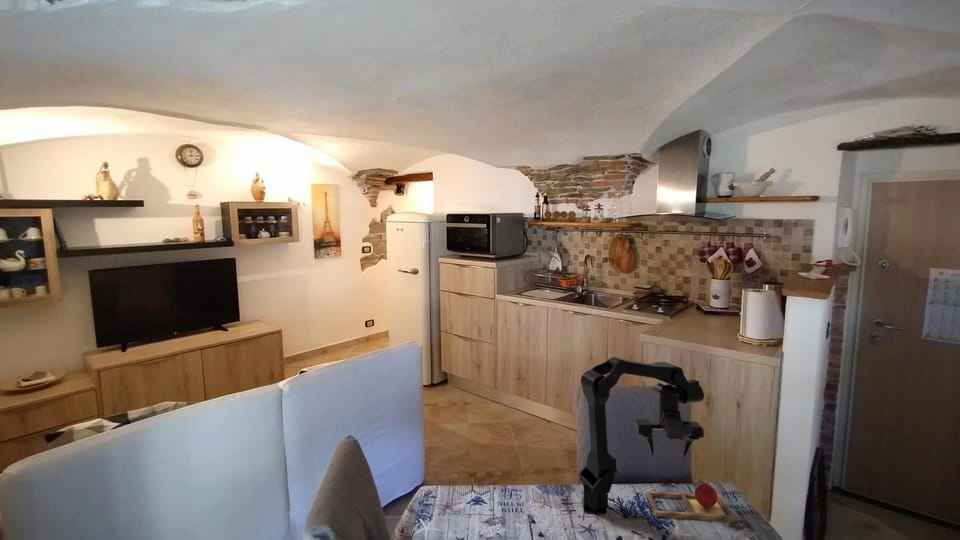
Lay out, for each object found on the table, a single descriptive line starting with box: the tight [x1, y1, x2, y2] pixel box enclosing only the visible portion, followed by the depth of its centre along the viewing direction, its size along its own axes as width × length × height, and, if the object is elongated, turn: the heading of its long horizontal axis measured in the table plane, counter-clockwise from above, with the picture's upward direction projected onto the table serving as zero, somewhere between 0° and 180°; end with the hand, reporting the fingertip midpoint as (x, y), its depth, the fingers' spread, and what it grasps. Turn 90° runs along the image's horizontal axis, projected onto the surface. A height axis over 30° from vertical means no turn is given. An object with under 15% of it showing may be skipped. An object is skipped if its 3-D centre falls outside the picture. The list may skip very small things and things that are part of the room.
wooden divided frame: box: [645, 490, 736, 523], centre depth 132 cm, size 21×11×1 cm, turn 83°
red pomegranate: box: [694, 480, 718, 508], centre depth 131 cm, size 6×6×8 cm
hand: (667, 455), depth 139 cm, fingers open, 9 cm apart
